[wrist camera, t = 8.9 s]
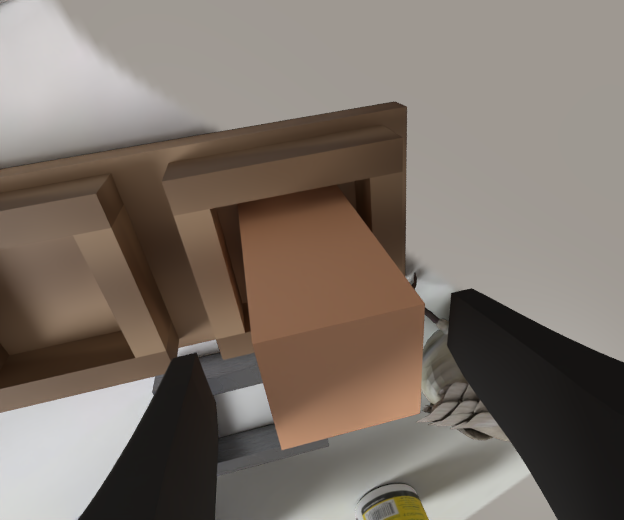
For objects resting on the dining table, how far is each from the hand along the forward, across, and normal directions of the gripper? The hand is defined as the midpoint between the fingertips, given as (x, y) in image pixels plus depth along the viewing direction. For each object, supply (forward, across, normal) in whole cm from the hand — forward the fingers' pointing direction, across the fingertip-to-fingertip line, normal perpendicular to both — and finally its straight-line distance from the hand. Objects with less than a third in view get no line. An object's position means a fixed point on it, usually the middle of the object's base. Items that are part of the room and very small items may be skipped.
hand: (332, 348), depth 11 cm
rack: (+8, +5, 0) cm, 9 cm away
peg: (+7, 0, 0) cm, 7 cm away
